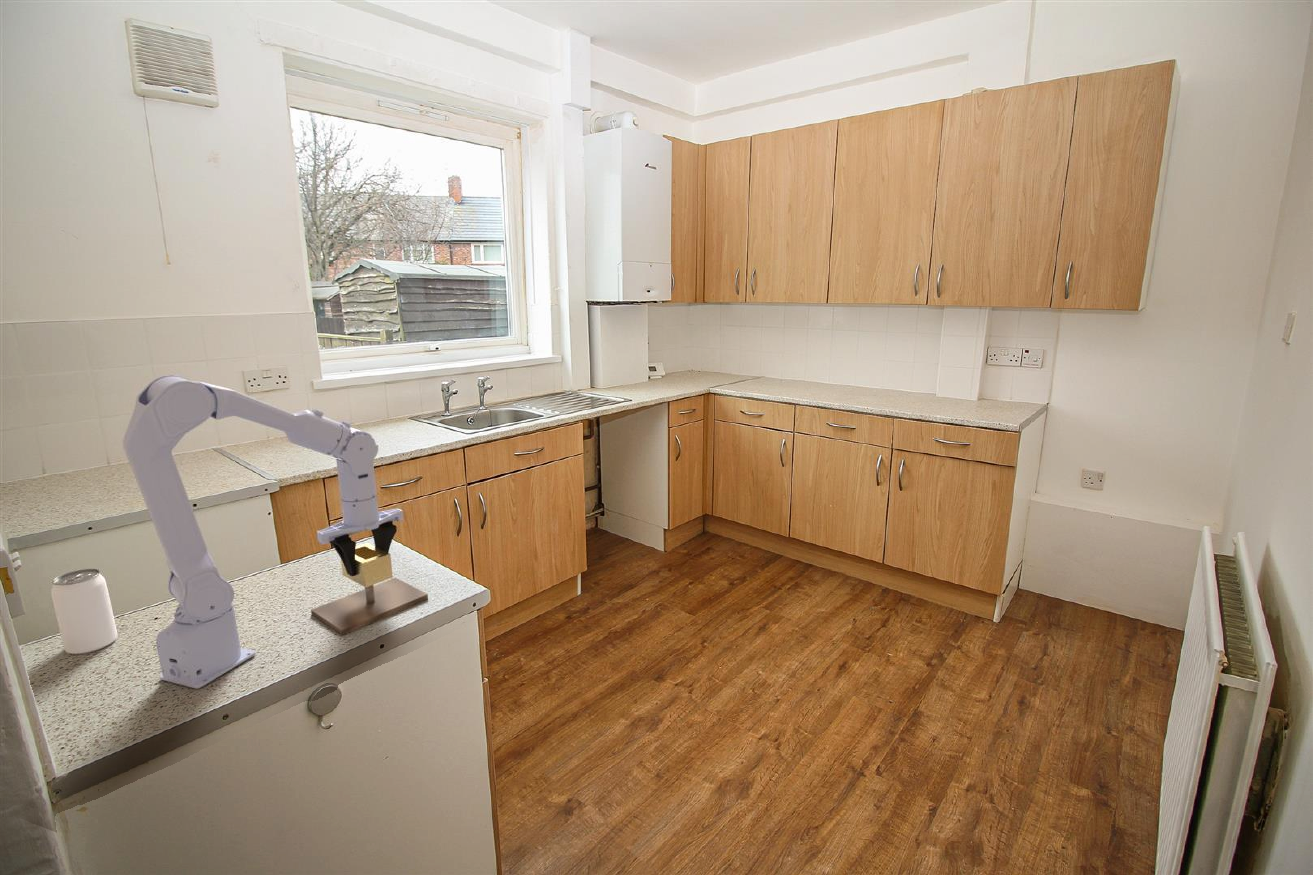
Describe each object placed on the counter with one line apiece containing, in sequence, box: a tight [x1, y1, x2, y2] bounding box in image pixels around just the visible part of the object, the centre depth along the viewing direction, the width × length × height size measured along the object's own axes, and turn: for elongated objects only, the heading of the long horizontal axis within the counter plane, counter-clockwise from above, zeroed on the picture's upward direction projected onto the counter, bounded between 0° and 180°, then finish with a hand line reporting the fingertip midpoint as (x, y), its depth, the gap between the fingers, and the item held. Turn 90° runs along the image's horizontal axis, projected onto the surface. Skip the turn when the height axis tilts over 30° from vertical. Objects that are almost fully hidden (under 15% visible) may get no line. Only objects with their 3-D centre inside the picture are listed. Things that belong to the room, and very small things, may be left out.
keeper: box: [310, 577, 429, 636], centre depth 113 cm, size 16×11×6 cm
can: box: [50, 568, 118, 656], centre depth 100 cm, size 6×6×12 cm
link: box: [340, 542, 394, 588], centre depth 112 cm, size 8×5×4 cm, turn 52°
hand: (367, 568), depth 112 cm, fingers closed on link, 5 cm apart
